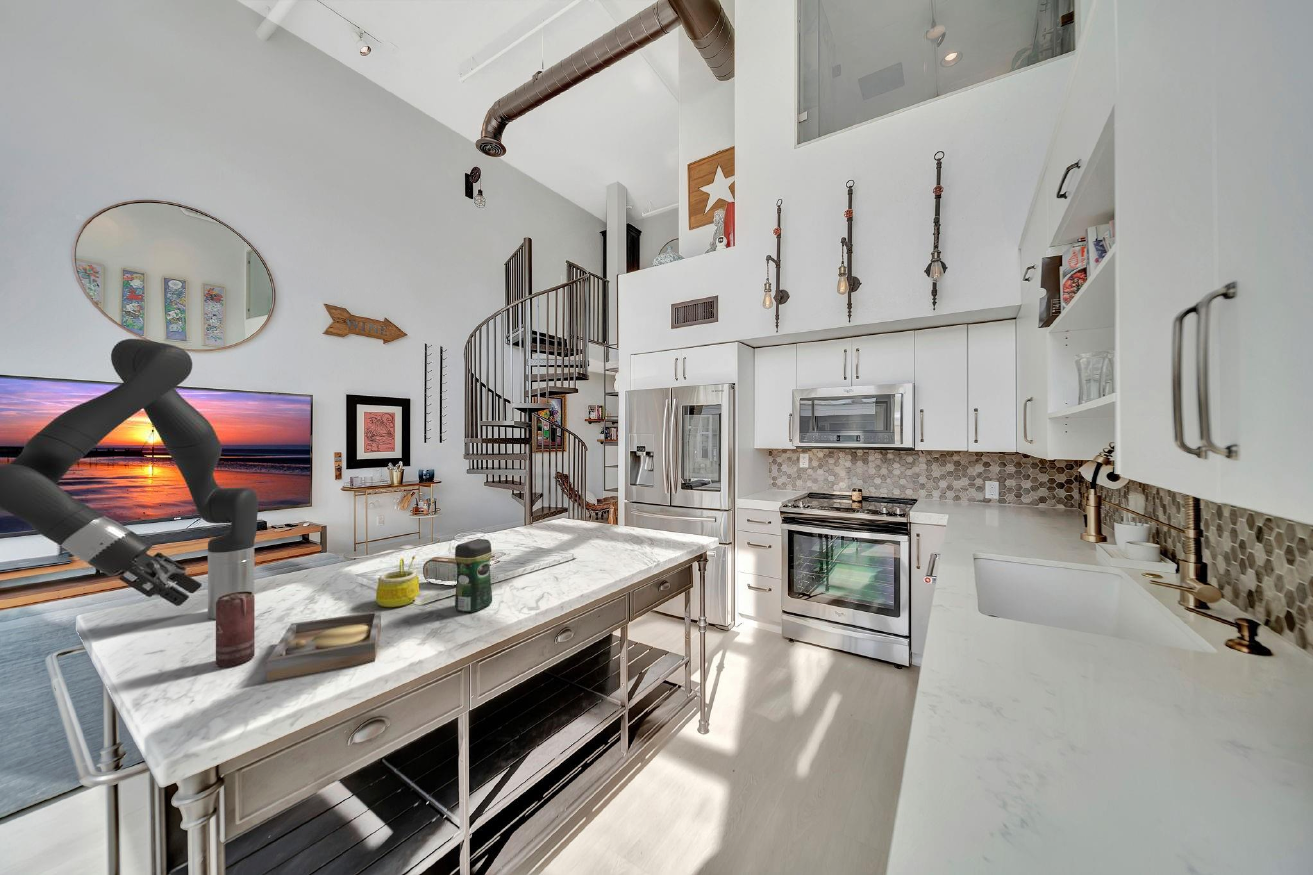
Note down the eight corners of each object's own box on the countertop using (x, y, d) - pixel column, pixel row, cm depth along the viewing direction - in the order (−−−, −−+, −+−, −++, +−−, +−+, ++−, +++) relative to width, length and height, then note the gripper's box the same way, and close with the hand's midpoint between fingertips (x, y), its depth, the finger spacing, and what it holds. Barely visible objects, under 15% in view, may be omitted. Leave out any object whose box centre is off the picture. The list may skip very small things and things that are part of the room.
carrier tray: (291, 640, 109) (291, 619, 109) (380, 626, 117) (381, 606, 117) (267, 681, 91) (266, 655, 91) (374, 661, 99) (375, 637, 99)
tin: (468, 585, 150) (468, 558, 150) (462, 588, 147) (462, 561, 147) (427, 581, 154) (427, 555, 154) (420, 584, 151) (421, 558, 150)
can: (232, 670, 95) (232, 601, 95) (207, 666, 97) (207, 598, 97) (263, 656, 101) (263, 591, 101) (239, 653, 103) (239, 589, 103)
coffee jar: (474, 599, 137) (475, 535, 137) (496, 603, 134) (497, 538, 134) (448, 611, 128) (449, 542, 128) (471, 615, 125) (471, 545, 125)
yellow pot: (396, 611, 127) (397, 567, 127) (366, 606, 131) (366, 563, 131) (433, 596, 139) (433, 556, 139) (404, 592, 143) (404, 552, 143)
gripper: (111, 537, 85) (199, 589, 91) (143, 524, 97) (218, 571, 103) (67, 571, 82) (160, 623, 88) (105, 553, 94) (184, 600, 100)
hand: (191, 595), depth 95 cm, fingers open, 8 cm apart
